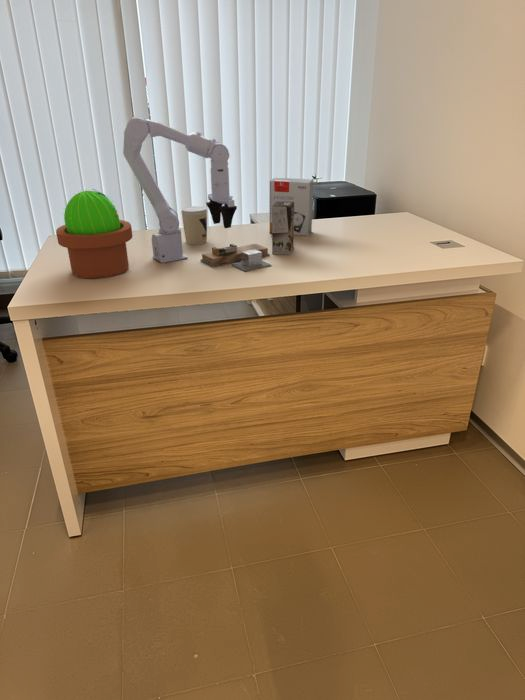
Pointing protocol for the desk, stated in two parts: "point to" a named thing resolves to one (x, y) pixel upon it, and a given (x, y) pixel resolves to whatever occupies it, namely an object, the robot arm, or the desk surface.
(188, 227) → the coffee cup
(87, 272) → the potted cactus
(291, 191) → the hard drive box
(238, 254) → the body
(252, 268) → the mat
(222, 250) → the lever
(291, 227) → the coffee box
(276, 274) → the desk surface
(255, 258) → the brushed metal cube
